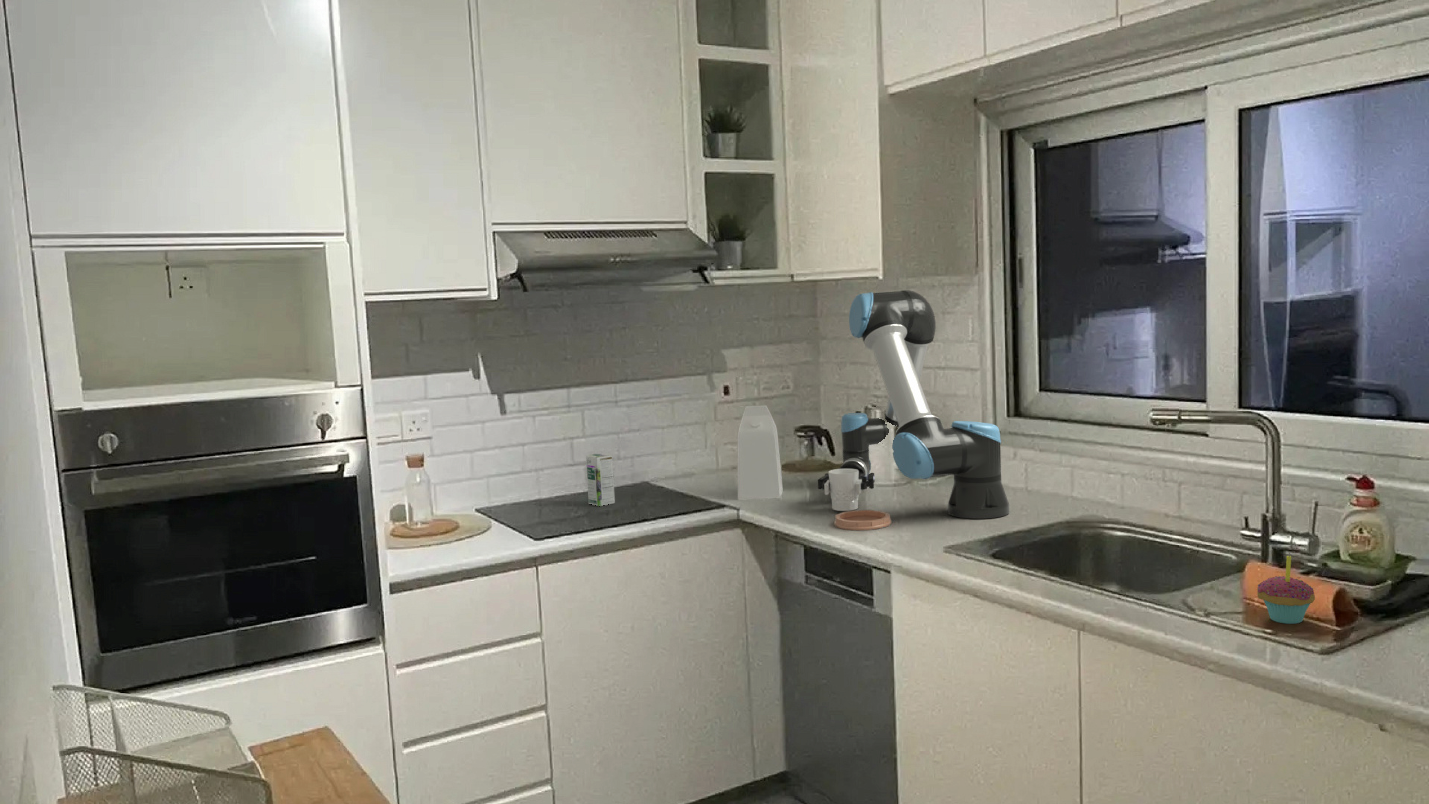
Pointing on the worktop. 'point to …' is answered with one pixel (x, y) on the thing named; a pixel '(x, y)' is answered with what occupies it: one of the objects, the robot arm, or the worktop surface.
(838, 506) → the white cup
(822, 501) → the worktop surface
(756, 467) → the milk
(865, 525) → the saucer
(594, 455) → the syrup box
